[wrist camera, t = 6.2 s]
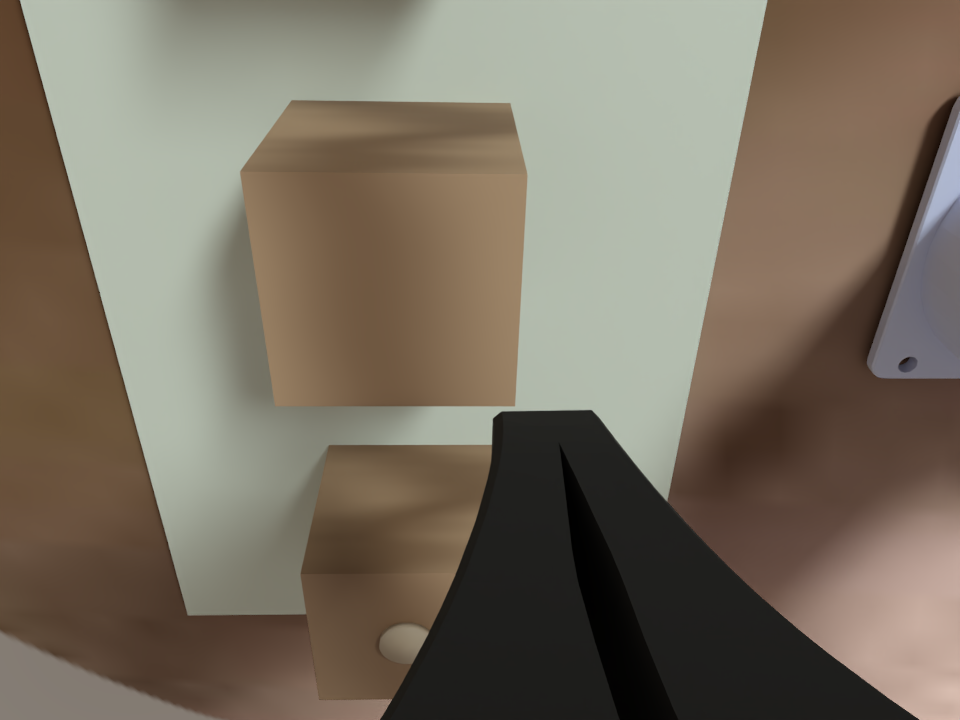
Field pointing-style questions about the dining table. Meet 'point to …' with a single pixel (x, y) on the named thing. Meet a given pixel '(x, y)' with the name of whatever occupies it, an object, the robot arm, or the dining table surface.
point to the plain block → (389, 252)
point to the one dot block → (385, 558)
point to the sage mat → (397, 78)
